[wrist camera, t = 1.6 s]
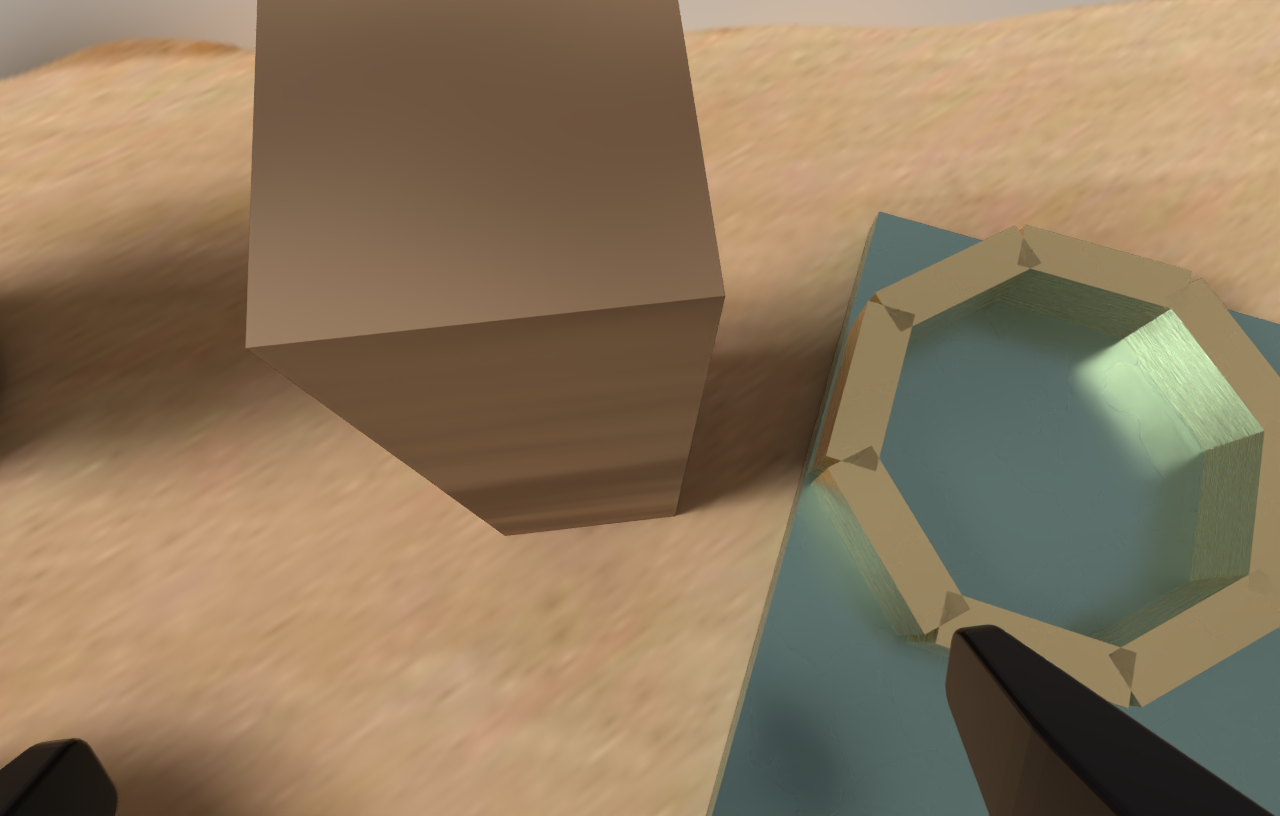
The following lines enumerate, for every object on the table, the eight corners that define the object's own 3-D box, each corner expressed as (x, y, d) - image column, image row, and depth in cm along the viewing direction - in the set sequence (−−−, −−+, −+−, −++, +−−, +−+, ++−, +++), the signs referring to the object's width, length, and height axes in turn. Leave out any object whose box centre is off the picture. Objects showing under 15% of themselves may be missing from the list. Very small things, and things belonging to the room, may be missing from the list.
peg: (674, 516, 21) (726, 295, 7) (504, 535, 21) (245, 348, 7) (654, 357, 22) (666, -74, 9) (494, 375, 22) (258, -34, 9)
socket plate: (1343, 1113, 17) (1486, 1210, 14) (691, 867, 18) (700, 910, 16) (1389, 377, 22) (1501, 337, 19) (869, 229, 23) (900, 171, 20)
